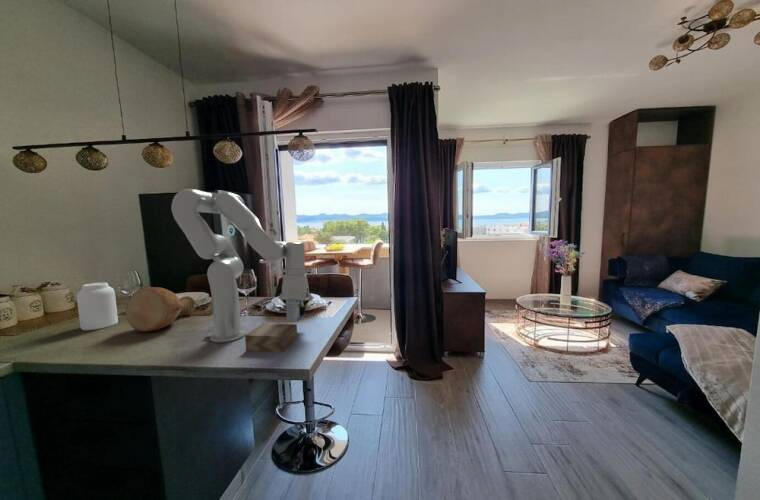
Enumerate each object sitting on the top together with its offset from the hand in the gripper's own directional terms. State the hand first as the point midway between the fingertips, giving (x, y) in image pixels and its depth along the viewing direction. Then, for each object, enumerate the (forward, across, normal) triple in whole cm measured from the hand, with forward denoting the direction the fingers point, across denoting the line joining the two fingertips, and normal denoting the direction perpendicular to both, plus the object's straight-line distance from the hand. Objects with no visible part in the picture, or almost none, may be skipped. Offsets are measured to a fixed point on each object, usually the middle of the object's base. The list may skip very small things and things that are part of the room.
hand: (296, 314), depth 119 cm
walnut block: (+8, -4, -13) cm, 15 cm away
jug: (+10, -65, +6) cm, 66 cm away
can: (+11, -96, +2) cm, 96 cm away
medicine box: (+2, 0, 0) cm, 2 cm away
